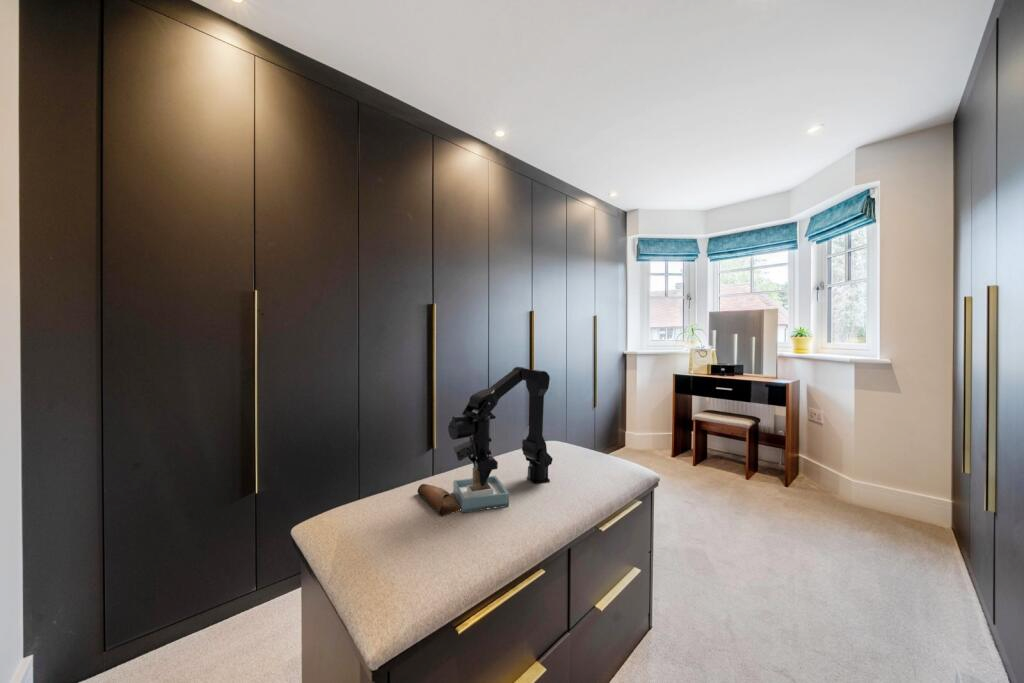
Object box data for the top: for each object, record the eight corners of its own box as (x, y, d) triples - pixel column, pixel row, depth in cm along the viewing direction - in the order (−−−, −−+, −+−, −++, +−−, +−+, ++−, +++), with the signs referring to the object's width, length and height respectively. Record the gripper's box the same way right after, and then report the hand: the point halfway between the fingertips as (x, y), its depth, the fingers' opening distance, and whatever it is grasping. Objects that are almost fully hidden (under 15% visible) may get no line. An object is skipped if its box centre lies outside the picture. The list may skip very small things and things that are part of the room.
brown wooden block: (485, 490, 123) (486, 466, 122) (487, 493, 120) (488, 468, 120) (472, 492, 121) (472, 467, 121) (474, 495, 119) (474, 470, 119)
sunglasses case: (465, 509, 114) (455, 492, 112) (447, 526, 111) (436, 510, 108) (440, 487, 129) (431, 473, 126) (423, 502, 125) (414, 488, 123)
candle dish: (495, 486, 130) (495, 475, 130) (508, 506, 116) (509, 493, 116) (453, 492, 125) (453, 480, 125) (461, 513, 112) (462, 499, 111)
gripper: (450, 428, 126) (450, 474, 127) (461, 444, 109) (460, 498, 109) (482, 425, 130) (482, 470, 130) (498, 441, 112) (497, 493, 113)
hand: (480, 482), depth 121 cm, fingers open, 5 cm apart
